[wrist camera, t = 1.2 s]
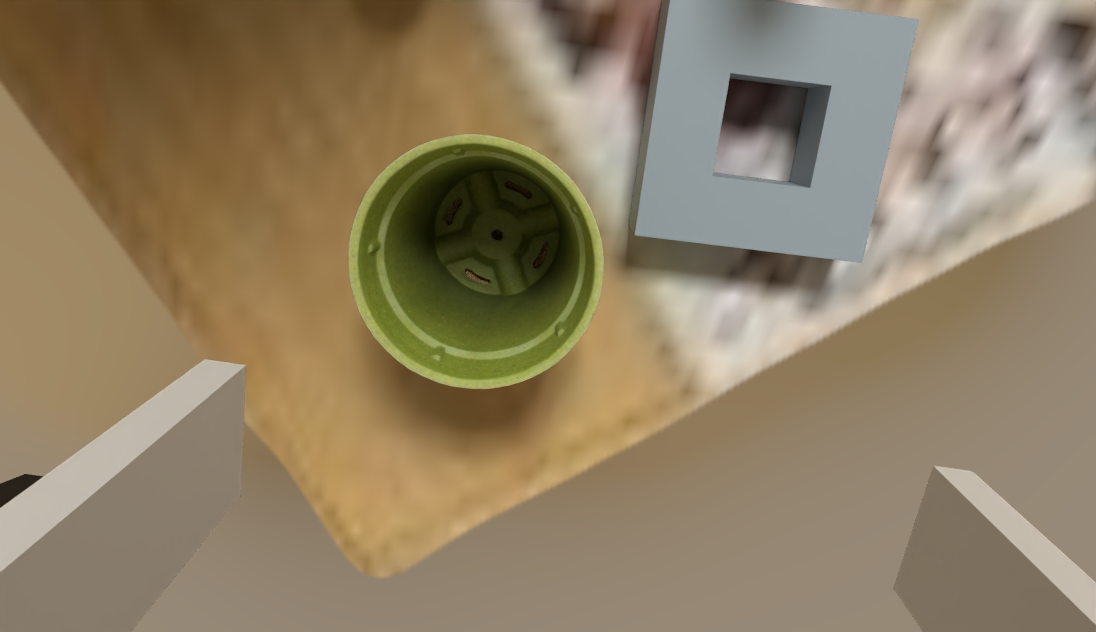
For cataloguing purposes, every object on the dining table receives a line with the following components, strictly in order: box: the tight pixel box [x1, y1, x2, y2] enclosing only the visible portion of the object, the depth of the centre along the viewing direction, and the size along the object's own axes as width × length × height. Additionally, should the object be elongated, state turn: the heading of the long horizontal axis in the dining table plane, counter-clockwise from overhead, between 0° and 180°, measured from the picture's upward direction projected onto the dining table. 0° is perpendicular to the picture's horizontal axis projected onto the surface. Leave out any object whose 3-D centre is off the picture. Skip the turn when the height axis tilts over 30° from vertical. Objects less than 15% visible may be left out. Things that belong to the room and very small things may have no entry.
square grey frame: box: [629, 0, 919, 263], centre depth 32 cm, size 10×10×3 cm
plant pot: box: [348, 134, 604, 389], centre depth 31 cm, size 9×9×9 cm
